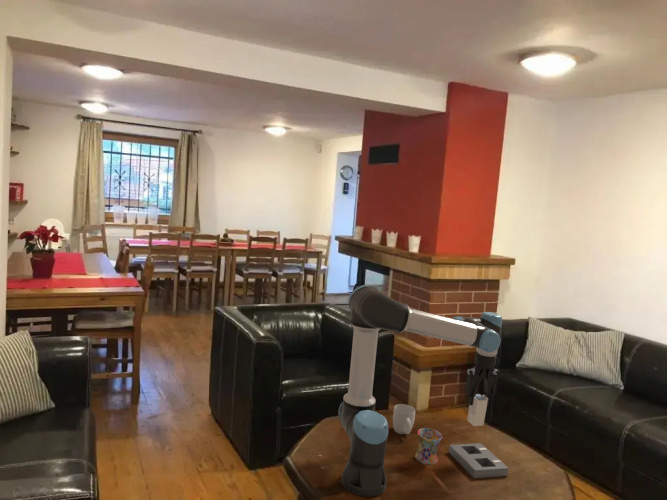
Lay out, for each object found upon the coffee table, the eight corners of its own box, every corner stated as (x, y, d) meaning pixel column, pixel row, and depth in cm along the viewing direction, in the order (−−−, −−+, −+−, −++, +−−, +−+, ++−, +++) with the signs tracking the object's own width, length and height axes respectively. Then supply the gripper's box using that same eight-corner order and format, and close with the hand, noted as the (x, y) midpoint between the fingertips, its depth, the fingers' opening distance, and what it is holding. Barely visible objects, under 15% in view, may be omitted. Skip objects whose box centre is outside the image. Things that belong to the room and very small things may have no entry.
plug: (473, 425, 194) (477, 398, 193) (467, 420, 198) (471, 393, 197) (483, 425, 195) (487, 398, 194) (477, 420, 200) (481, 393, 198)
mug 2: (441, 468, 190) (445, 441, 188) (416, 466, 189) (420, 439, 188) (433, 451, 202) (437, 425, 200) (410, 449, 201) (413, 423, 200)
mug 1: (388, 425, 220) (391, 403, 219) (409, 426, 221) (412, 404, 220) (396, 440, 207) (399, 416, 206) (418, 441, 209) (421, 417, 208)
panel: (473, 480, 184) (475, 469, 183) (448, 454, 201) (449, 444, 200) (507, 478, 188) (508, 467, 187) (479, 452, 205) (480, 442, 204)
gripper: (471, 356, 187) (462, 417, 190) (512, 357, 193) (502, 416, 195) (460, 349, 194) (451, 408, 197) (500, 350, 200) (490, 408, 202)
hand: (476, 412), depth 196 cm, fingers closed on plug, 4 cm apart
